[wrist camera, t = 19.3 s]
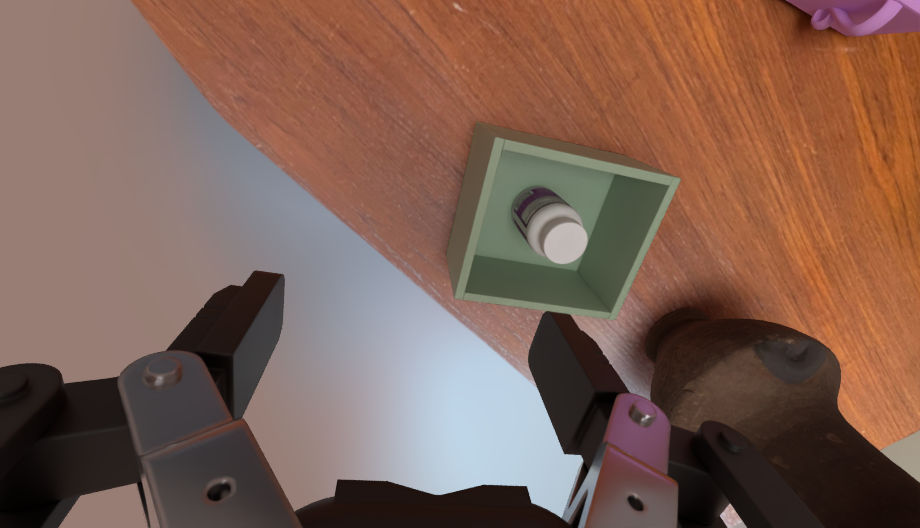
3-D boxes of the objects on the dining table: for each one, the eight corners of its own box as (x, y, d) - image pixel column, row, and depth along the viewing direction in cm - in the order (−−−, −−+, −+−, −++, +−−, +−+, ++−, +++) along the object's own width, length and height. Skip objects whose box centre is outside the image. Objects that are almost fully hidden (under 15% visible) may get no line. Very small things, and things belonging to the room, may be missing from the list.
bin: (445, 254, 44) (454, 298, 36) (476, 121, 38) (495, 136, 30) (578, 275, 48) (615, 320, 39) (626, 155, 42) (681, 178, 33)
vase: (679, 403, 60) (890, 668, 34) (583, 363, 54) (748, 648, 28) (774, 307, 54) (1131, 544, 27) (677, 250, 48) (1013, 482, 21)
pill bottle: (559, 226, 44) (595, 265, 35) (512, 235, 44) (538, 277, 35) (557, 180, 41) (596, 209, 33) (508, 189, 41) (534, 221, 33)
